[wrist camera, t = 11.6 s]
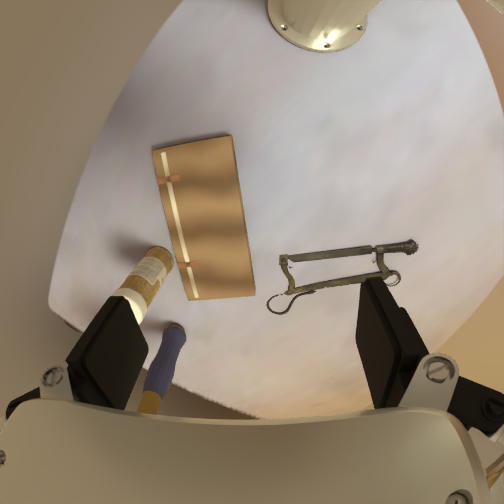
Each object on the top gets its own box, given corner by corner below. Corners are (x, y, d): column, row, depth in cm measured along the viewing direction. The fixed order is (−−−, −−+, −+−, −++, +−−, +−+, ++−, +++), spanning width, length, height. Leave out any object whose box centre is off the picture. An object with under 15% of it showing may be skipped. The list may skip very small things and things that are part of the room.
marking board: (157, 149, 35) (151, 151, 33) (232, 135, 34) (230, 135, 32) (191, 293, 44) (188, 301, 42) (255, 288, 43) (255, 296, 41)
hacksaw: (417, 237, 39) (421, 241, 37) (410, 294, 43) (413, 299, 42) (259, 256, 41) (258, 261, 40) (268, 314, 46) (268, 319, 44)
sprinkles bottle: (164, 278, 43) (132, 335, 31) (141, 260, 42) (101, 313, 30) (179, 257, 42) (148, 313, 29) (155, 239, 40) (114, 288, 28)
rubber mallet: (212, 317, 46) (169, 498, 19) (212, 350, 49) (179, 511, 22) (140, 308, 46) (61, 461, 19) (146, 340, 49) (86, 483, 22)
